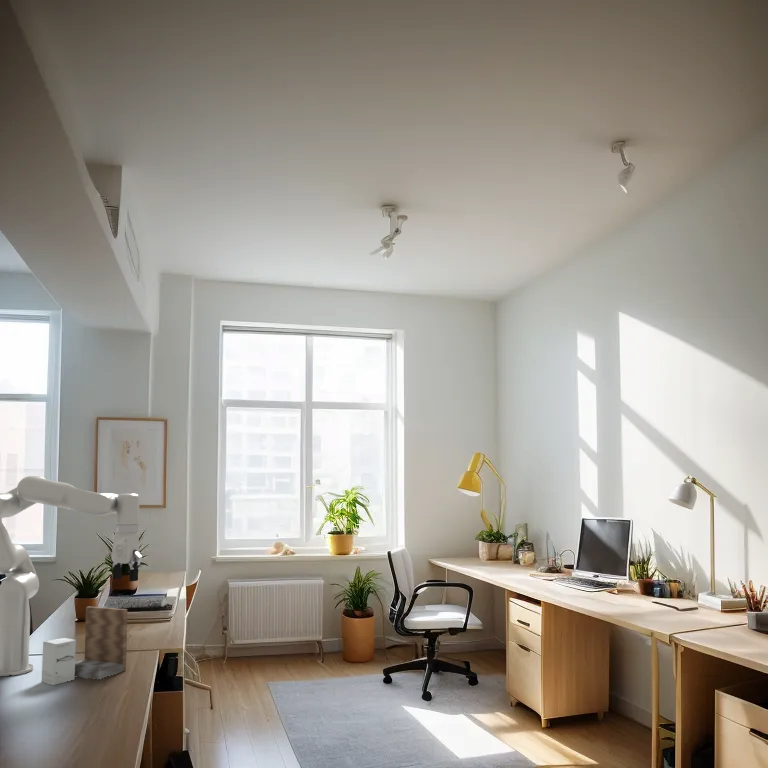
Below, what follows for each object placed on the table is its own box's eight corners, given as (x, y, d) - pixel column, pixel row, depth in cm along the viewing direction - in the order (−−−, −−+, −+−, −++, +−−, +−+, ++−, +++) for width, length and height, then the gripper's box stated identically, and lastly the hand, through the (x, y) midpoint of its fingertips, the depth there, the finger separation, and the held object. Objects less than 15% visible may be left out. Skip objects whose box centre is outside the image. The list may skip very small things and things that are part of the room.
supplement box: (53, 685, 237) (54, 644, 239) (40, 682, 242) (42, 641, 243) (75, 680, 243) (76, 639, 245) (62, 676, 248) (64, 636, 249)
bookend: (59, 674, 250) (61, 612, 252) (87, 666, 261) (89, 606, 263) (99, 679, 243) (100, 615, 245) (126, 670, 254) (127, 609, 256)
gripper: (103, 528, 267) (101, 578, 265) (132, 531, 256) (130, 583, 254) (122, 527, 273) (120, 576, 271) (151, 530, 262) (149, 580, 260)
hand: (125, 579), depth 262 cm, fingers open, 9 cm apart
